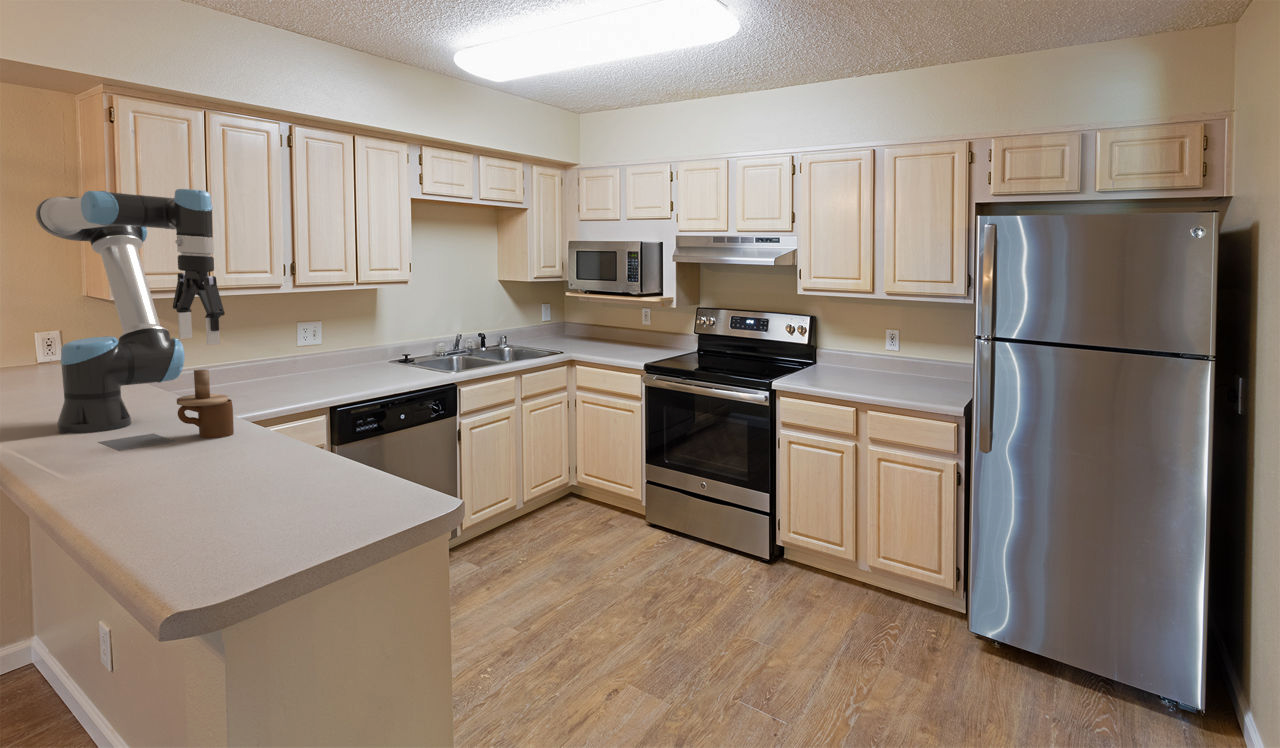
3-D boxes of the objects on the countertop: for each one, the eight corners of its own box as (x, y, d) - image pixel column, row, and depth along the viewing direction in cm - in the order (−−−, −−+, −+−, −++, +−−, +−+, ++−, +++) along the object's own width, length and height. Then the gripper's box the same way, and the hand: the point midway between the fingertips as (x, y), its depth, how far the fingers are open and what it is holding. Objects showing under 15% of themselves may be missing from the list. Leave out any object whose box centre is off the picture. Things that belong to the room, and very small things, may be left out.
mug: (181, 444, 172) (179, 406, 171) (176, 438, 178) (174, 401, 176) (237, 438, 180) (235, 402, 179) (230, 432, 186) (228, 397, 184)
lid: (168, 401, 176) (166, 369, 175) (215, 396, 185) (213, 365, 184) (189, 408, 170) (188, 375, 169) (236, 402, 179) (235, 370, 178)
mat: (97, 444, 169) (97, 441, 169) (153, 435, 179) (153, 433, 179) (120, 453, 163) (119, 450, 162) (176, 443, 173) (176, 441, 172)
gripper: (154, 251, 176) (158, 336, 179) (205, 256, 162) (209, 348, 166) (186, 253, 182) (190, 335, 185) (238, 257, 169) (241, 345, 172)
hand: (199, 341), depth 175 cm, fingers open, 13 cm apart
